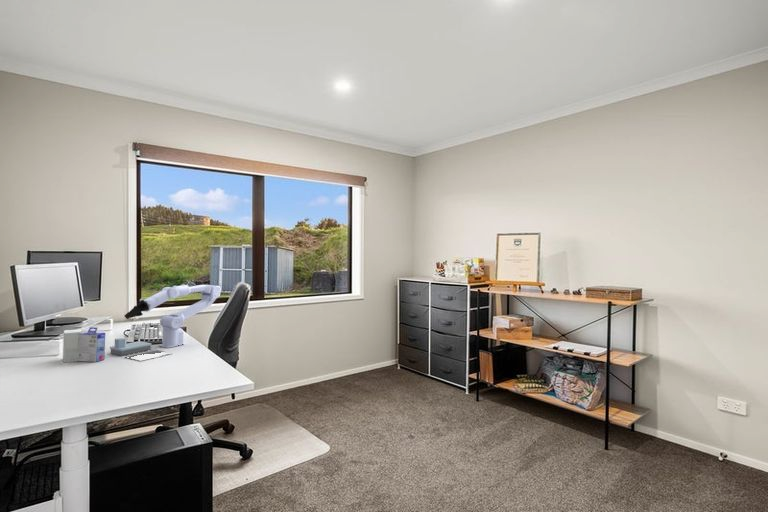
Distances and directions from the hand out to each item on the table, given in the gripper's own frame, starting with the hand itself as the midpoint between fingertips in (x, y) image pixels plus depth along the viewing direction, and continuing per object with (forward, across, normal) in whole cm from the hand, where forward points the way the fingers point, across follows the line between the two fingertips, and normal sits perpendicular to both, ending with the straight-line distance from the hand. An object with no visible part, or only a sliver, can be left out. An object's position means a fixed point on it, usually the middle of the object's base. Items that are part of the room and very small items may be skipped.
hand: (128, 315), depth 194 cm
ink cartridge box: (+21, -7, +9) cm, 24 cm away
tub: (+5, -11, +15) cm, 19 cm away
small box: (+25, -12, +5) cm, 28 cm away
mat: (+4, +2, +22) cm, 22 cm away
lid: (+4, -10, +13) cm, 17 cm away
